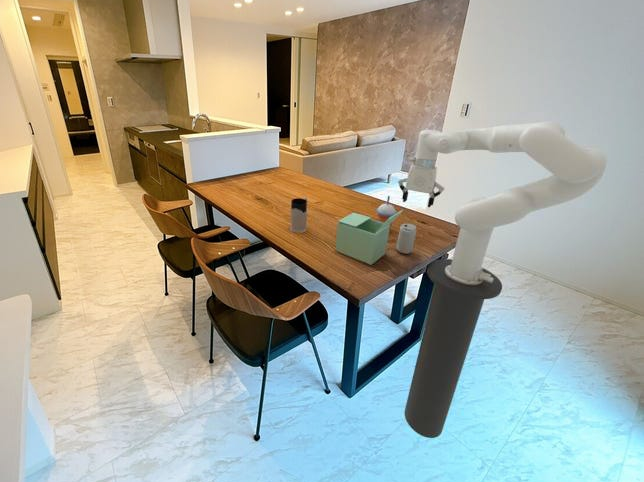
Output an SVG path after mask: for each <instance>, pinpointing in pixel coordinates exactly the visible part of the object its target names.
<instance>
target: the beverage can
mask: <svg viewBox="0 0 644 482" xmlns="http://www.w3.org/2000/svg"><path fill="white" fill-rule="evenodd" d="M416 235H417V226H416V225H415V224H413V223H408V222H406V223H402V224H401V225H400V226H399V233H398V236H397V241H396V246H395V247H396V248H395V249H396V250H397V252H398V253H401V254H406V255H407V254H408V255H409V254H410V253H412V252H413V248H414V245H415V239H416Z"/></svg>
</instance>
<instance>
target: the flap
mask: <svg viewBox="0 0 644 482" xmlns="http://www.w3.org/2000/svg"><path fill="white" fill-rule="evenodd" d="M402 212H404V209H401V210H399V211H398V212H396V214H395V215H393V216H392V217H390V218H388V220H387V221H386V222H385V223H384V224H383V225H382V226H381V227H380V228H379V229H378V230H377V232H376V233H378V232H379V231H381V230H382V229H384V228H385V227H387V226H388V225H390V224H391V223H392V222H394V221H395V220H396V219H397V218H398V217H399V216H400V214H401V213H402ZM392 224H393V223H392Z"/></svg>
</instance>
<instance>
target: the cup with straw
mask: <svg viewBox="0 0 644 482" xmlns="http://www.w3.org/2000/svg"><path fill="white" fill-rule="evenodd" d="M390 198H391V196H390V195H387V200H386V203H382V204H381V205H380V206H379V207H377V208H376V221H379V222H382V223H385V222H386V221H387V220H388V218H390V217H392V216H393V215H395V214H396V213H397V210H396V209H395V207H394V206H393V205H392V204H390ZM393 222H394V221H393ZM393 222H392V223H391V224H390V229H389V232H391V228H392V226H393Z"/></svg>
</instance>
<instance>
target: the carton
mask: <svg viewBox="0 0 644 482" xmlns="http://www.w3.org/2000/svg"><path fill="white" fill-rule="evenodd" d="M383 224H384V223H382V222H379V221H377V220H375V219H373V218H372V217H371V216H367V215H364V214H360V213H358V212H357V213H356V212H352V213H350V214H348V215H346V216H345V217H343V218H341V219H338V220H337V226H336V239H335V252H338V253H340V254H343V255H345V256H348V257H349V258H353V259H355V260H357V261H360V262H362V263H365V264H367V265H370V266H372V265H373V264H374V263H376V262H377V261H378V260H379V259H381V258H382V257H383V256H385V254H387V253H386V252H387V248H388V247H387V246H388V241H389V234H390V231H389V229H390V230H391V228H390V225H388V226H387V227H385V228H384V229H382V230H381V231H379V232H378V233H376V232H377V230H378V229H379V228H380V227H381V226H382V225H383Z"/></svg>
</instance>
